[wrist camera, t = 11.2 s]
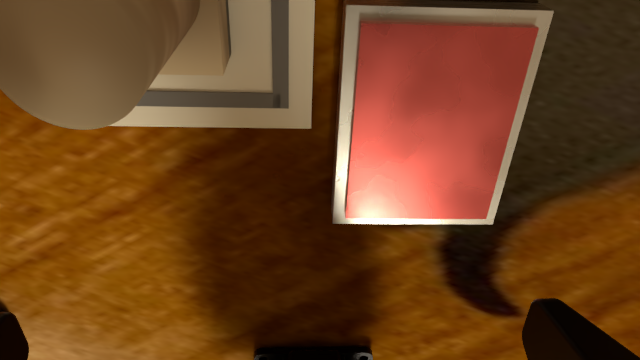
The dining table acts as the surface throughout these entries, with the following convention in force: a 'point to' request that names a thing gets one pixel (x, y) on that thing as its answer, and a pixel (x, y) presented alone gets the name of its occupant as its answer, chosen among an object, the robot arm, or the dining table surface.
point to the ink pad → (431, 107)
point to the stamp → (104, 53)
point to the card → (244, 75)
